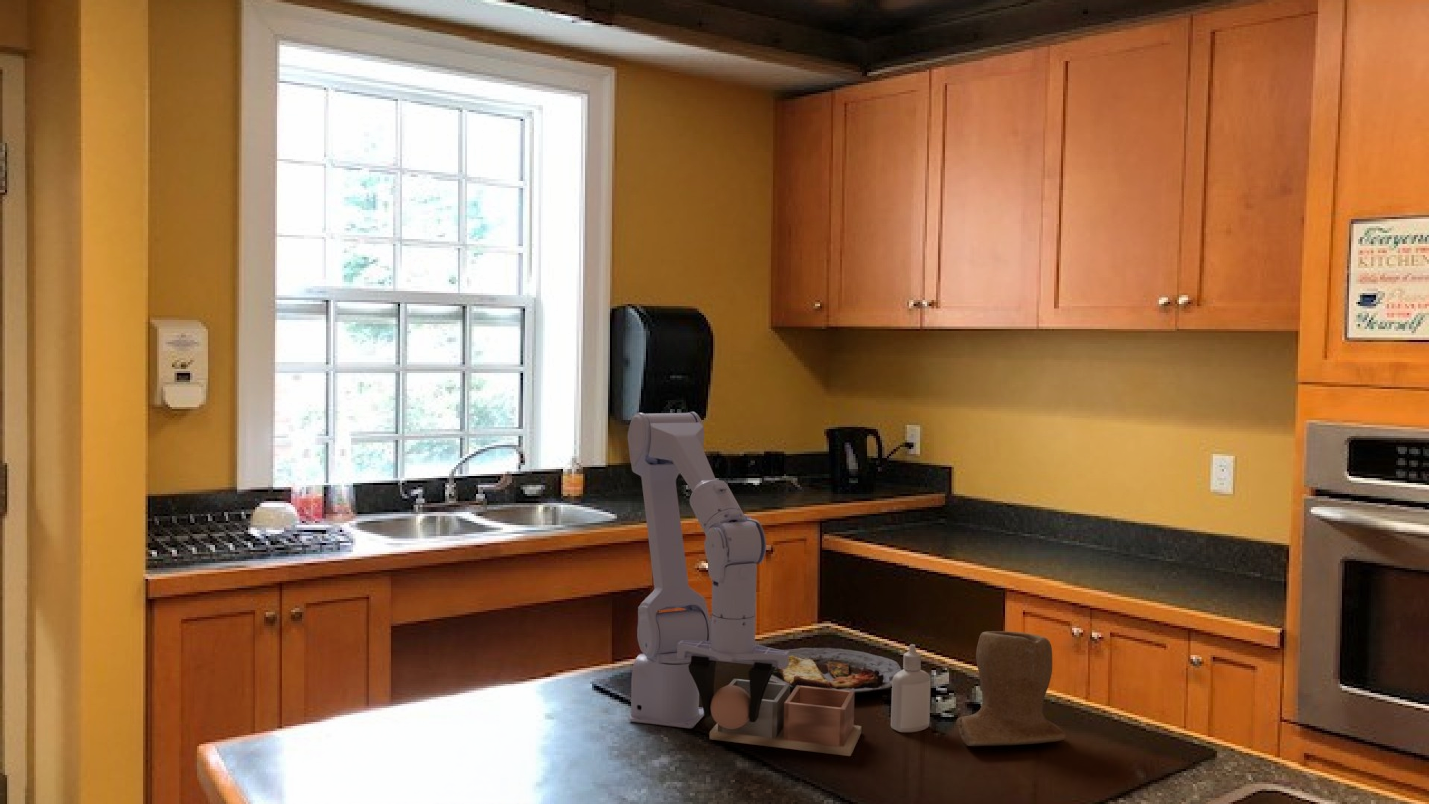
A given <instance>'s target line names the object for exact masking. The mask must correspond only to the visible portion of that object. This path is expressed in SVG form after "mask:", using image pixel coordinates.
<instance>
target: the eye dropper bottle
mask: <svg viewBox="0 0 1429 804" xmlns="http://www.w3.org/2000/svg"><path fill="white" fill-rule="evenodd" d="M916 648H917V647H916V644H913V643H911V644H909V649H908V651H907V652H904V653H903V657H902V658H903V660H902V661H903V662H902V663H903V664H902V666H903V667H902V668H903V669H901V671H899V672H898V673H897V674H895V675H894V677H893V680H892V688H891V700H890V701H891V702H890V703H891V704H890V708H891V709H890V710H891V711H890V727H891V728H892V730H895V731H896V732H899V733H917V732H921V731H923V730H926V729H928V727H929V726H930V721H931V720H930V715H931V714H930V713H931V711H930V710H931V676H930V674H929V673H928V672H926V671H925V670H922V669H921V667H922V666H921V664H922V662H921V661H922V655H921V653H918V652H917V649H916Z"/></svg>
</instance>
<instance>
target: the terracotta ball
mask: <svg viewBox="0 0 1429 804" xmlns="http://www.w3.org/2000/svg"><path fill="white" fill-rule="evenodd" d="M710 709H711V716H712V719H713V720H714V722H715V723H716V724H717V723H718V724H719V725H720V726H722V727H724V728H727V729H736V728H739V727H741V726H743V725H744V724H746V723H747V721H748V720H749V711H750V696H749V694H748V693H747V692H746V691H745V690H744V689H742V688H741V687H738V686H734V685H729V684H727V685H725V686H722V687H720V688H719V689H718V690H717V691H715V692H714V696H713V697H712V700H711V705H710Z"/></svg>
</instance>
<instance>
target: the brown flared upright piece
mask: <svg viewBox="0 0 1429 804" xmlns="http://www.w3.org/2000/svg"><path fill="white" fill-rule="evenodd" d="M975 658H976V665H977V669H978V670H977V671H978V676H979V681H980V682H979V683H980V688H981V697H982V698H981V699H982V703H981V706H980V709H979V710H978V711H977V712H975V713H973V714H970V715H963V716H960V717H958V718H957V719H956V721H955V723H956V726H957V728H958V732H959V735H960V738H961V740H962V741H963V743H964V744H965V746H968V747H997V746H998V747H999V746H1001V747H1003V746H1017V745H1018V746H1020V745H1035V744H1045V743H1053V742H1059V741H1063V740H1064V739H1066V733H1065V732H1064V731H1063V730H1062V729H1061V728H1060V727H1059V726H1057V725H1056V724H1055V723H1053V722H1051V721H1050V720H1048V719H1046V717H1045V716H1044V714H1043V706H1044V701H1045V697H1046V694H1047V691H1048V689H1049V685H1050V682H1051V678H1052V673H1053V649H1052V644H1051V641H1049V639H1048V638H1046V637H1045V636H1041V635H1038V634H1034V633H1033V634H1032V633H1026V632H1020V631H1019V632H1017V631H1004V630H1003V631H1002V630H1001V631H998V630H997V631H996V630H995V631H994V630H993V631H988V630H987V631H983V632H981V633H980V635H979V638H978V642H977V646H976V653H975Z"/></svg>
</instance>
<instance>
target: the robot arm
mask: <svg viewBox="0 0 1429 804" xmlns="http://www.w3.org/2000/svg"><path fill="white" fill-rule="evenodd" d="M627 443H628V444H627V445H628V452H629V453H628V454H629V460H630V461H629V462H630V464H631V466H630V467H631V471H632V472H633V474H636V475H638V476H640V478H641V486H642V493H643V494H642V495H643V503H644V510H645V511H644V512H645V520H646V528H647V536H648V545H649V554H650V562H651V571H652V581H653V588H654V589H653V591H652V592H650V594H649V595H648V596H647V597H645V599H644V600H643V601H642V602H640V605H639V606H638V607H637V609H638V610H637V629H636V630H637V631H636V632H637V633H636V634H637V637H636V638H637V642H638V646H639V649H640V651H641V652H642V653H639V654H638V655H637V657H636V658H635V659H634V662H633V665H632V670H631V685H630V687H631V689H630V692H631V693H630V694H631V697H630V698H631V699H630V702H631V703H630V716H629V718H628V720H629V722H632V723H634V722H635V723H641V724H650V725H659V726H665V727H666V726H667V727H675V728H683V729H684V728H685V729H693V728H694V727H695V726H696V725H697V724H698V723H699V722H700V720H701V719H702V718H703V717H706V718H709V717H711V716H712V714H711V709H710V705H711V700H712V697H713V696H714V694H715V687H714V686H715V677H716V676H715V675H716V666H717V662H723V663H724V662H725V663H726V662H727V663H734V664H736V663H737V664H744V665H745V664H746V665H753V667H751V669H750V670H748V678H749V679H748V680H750V711H749V721H750V722H755V721H756V720H757V719H758V716H759V710H760V705H761V702H762V698H763V695H764V692H765V689H766V687H767V684H768V682H769V680H770V678H771V676H772V674H773V672H774V670H775V668H776V667H778V669H786V668H787V667H788V665H789V651H786V650H787V649H777V648H773V647H770V646H769V647H767V646H764V645H759V644H756V617H757V616H756V612H757V610H756V609H757V607H756V606H757V567H758V565H759V564H761V563H762V562H763V561H764V558H765V556H766V551H767V539H766V534H765V531H764V528H763V526H762V524H761V522H760V521H759V520H757V519H754V518H752V517H751V516H750V515H746V514H744V511H743V510H742V508H741V507H740V505H739V503H738V501H737V499H736V498H735V496H734V494H733V492H732V490H731V489H730V487H729V485H728V484H727V483H726V482H725V481H723V480H718V479H716V477H715V474H714V472H713V469H712V467H711V465H710V463H709V460H708V457H707V455H706V453H705V450H704V443H705V427H704V423H703V421H702V419H701V417H700V415H699V414H698V413H696V412H695V411H689V412H676V413H675V412H671V413H670V412H668V413H666V412H665V413H663V412H662V413H656V412H655V413H644V412H637V413H635V414H634V416H633V417H632V419H631V421H630V424H629V426H628V431H627ZM679 475H681V476H682V478H683V480H684V481H685V482H686V484H687V486H688V487H689V488H690V491H691V494H690V496H689V505H690V507H691V509H692V511H693V513H694V515H695V517H696V520H697V521H698V523H699V525H700V527H701V529H702V531H703V533H704V534H705V540H704V541H703V543H704V544H703V545H704V552H705V557H706V560H707V568H708V570H707V573H708V577H709V579H711V616H710V613H709V610H708V604H707V602H706V600H707V599H706V598H705V597H704V596H702V595H701V594H700V593H699V592H697V591H695V590H694V589H693V588H691V586H689V580H688V579H689V578H688V569H687V563H686V554H685V547H684V539H683V531H682V524H681V515H680V505H679V498H678V491H677V478H678V476H679ZM673 609H682V610H674V611H672V610H673ZM662 610H671V611H664V612H658V611H662ZM700 700H701V701H700ZM700 702H701V705H702V707H699V706H700Z"/></svg>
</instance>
